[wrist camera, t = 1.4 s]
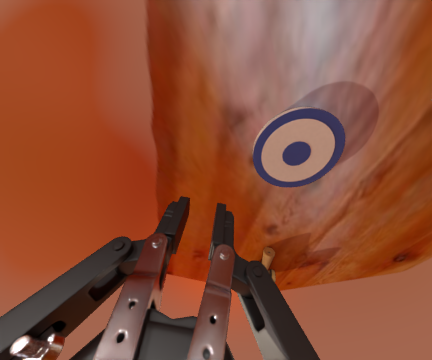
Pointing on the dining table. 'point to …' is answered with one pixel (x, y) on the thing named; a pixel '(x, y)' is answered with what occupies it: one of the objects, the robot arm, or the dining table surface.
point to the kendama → (268, 260)
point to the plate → (298, 147)
